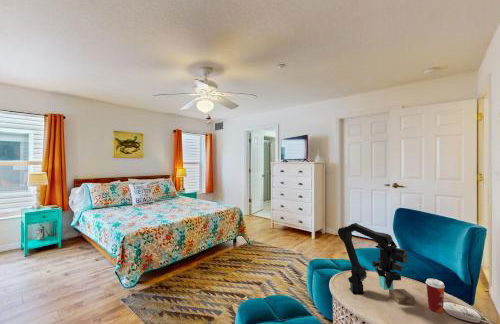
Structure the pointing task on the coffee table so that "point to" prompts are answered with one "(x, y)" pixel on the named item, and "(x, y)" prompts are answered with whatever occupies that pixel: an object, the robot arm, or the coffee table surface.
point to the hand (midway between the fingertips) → (385, 285)
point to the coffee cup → (435, 295)
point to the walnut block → (401, 296)
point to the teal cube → (384, 283)
